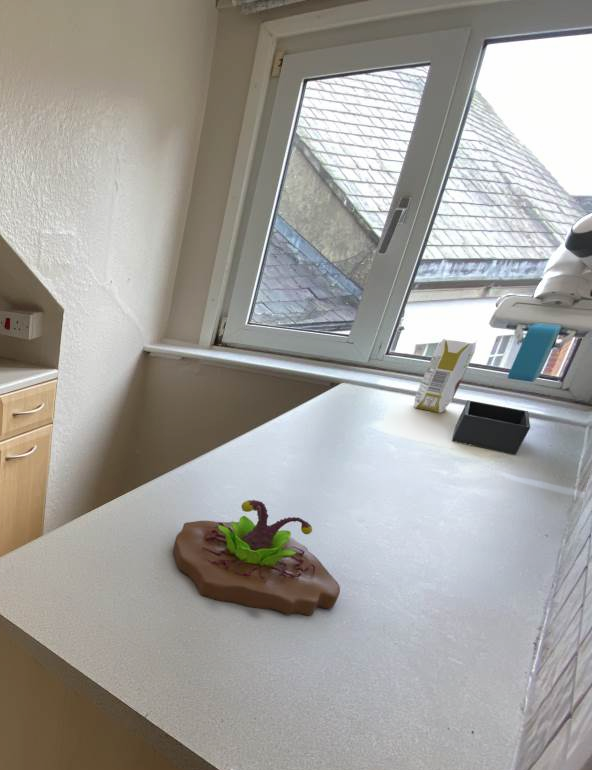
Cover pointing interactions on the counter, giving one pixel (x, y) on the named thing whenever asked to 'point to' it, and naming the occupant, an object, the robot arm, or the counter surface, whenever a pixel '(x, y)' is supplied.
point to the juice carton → (444, 373)
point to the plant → (254, 564)
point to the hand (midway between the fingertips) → (538, 345)
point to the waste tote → (492, 427)
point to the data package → (534, 351)
